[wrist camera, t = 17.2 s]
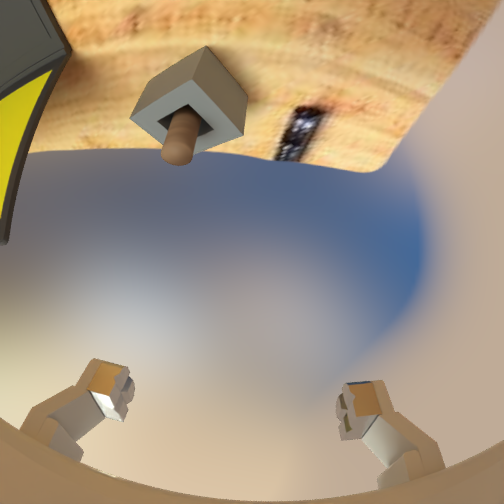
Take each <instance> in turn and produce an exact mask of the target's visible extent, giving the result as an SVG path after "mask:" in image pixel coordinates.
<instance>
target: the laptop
mask: <svg viewBox="0 0 504 504" xmlns="http://www.w3.org/2000/svg"><path fill="white" fill-rule="evenodd" d="M71 50H72V49H71V47H70V45H69V43H68V42H67V40H66V38H65V36H64V34H63V32H62V30H61V28H60V27H59V25H58V23H57V21H56V19H55V17H54V15H53V13H52V11H51V9H50V7H49V5H48V3H47V1H46V0H0V245H6V244H7V243H8V241H9V235H10V228H11V222H12V216H13V210H14V205H15V200H16V196H17V191H18V187H19V183H20V179H21V175H22V171H23V168H24V164H25V161H26V158H27V154H28V151H29V148H30V145H31V142H32V139H33V136H34V134H35V131H36V128H37V126H38V123H39V120H40V118H41V115H42V113H43V111H44V108H45V106H46V104H47V101H48V99H49V97H50V95H51V93H52V90H53V88H54V86H55V84H56V82H57V80H58V78H59V76H60V74H61V72H62V71H63V69H64V67H65V65H66V63H67V61H68V60H69V58H70V57H71V53H70V51H71Z"/></svg>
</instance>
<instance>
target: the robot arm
mask: <svg viewBox="0 0 504 504" xmlns="http://www.w3.org/2000/svg"><path fill="white" fill-rule="evenodd" d="M129 373H130V371H129V369H128V367H126V366H122V365H118V364H114V363H110V362H106V361H103V360H99V359H95V358H94V359H92V360H91V361H90V362H89V364H88V365H87V367H86V369H85V371H84V372H83V374H82V376H81V377H80V379H79V381H78V382H77V384H76V386H70V387H69V388H67V389H65V390H63V391H62V392H60V393H58V394H56V395H54V396H52V397H51V398H49V399H47V400H45V401H43V402H42V403H40V404H38V405H36V406H34V407H32V409H31V410H30V412H29V414H28V416H27V417H26V419H25V421H24V422H23V424H22V426H21V428H20V430H18V429H17V428H15V427H13V426H12V425H10V424H9V423H7V422H6V421H5V420H3V419H2V418H0V504H504V440H503V441H501V442H499V443H497V444H496V445H494V446H492V447H491V448H489V449H486V450H485V451H483V452H481V453H479V454H477V455H475V456H473V457H471V458H468V459H466V460H464V461H462V462H460V463H458V464H455V465H453V466H450V467H448V468H446V467H445V464H444V461H443V459H442V455H441V452H440V450H439V447H438V444H437V442H435V440H433V439H432V438H431V437H429V436H428V435H427V434H425V433H424V432H423V431H422V430H420V429H419V428H418V427H417V426H415V425H414V424H413V423H412V422H410V421H409V420H408V419H407V418H405V417H404V416H403V415H402V414H400V413H399V412H395V411H394V408H393V405H392V402H391V400H390V397H389V394H388V391H387V389H386V386H385V383H384V381H383V380H377V381H363V382H352V383H345V384H344V385H343V387H342V392H343V393H342V394H340V395H339V397H338V399H337V402H336V414H337V418H338V419H339V420H340V421H341V423H340V425H339V431H340V437H341V440H353V439H362V441H363V442H364V443H365V444H366V445H367V447H368V448H369V449H370V450H371V451H372V452H373V453H374V454H375V455H376V456H377V458H378V459H379V460H380V461H381V462H382V463H383V464H384V465H385V466H386V467H387V469H386V470H385V471H384V472H383V473H382V474H381V475H379V477H378V478H377V482H378V487H379V489H378V490H374V491H369V492H365V493H359V494H353V495H347V496H341V497H334V498H325V499H315V500H303V501H279V502H278V501H277V502H276V501H273V502H271V501H270V502H269V501H268V502H266V501H265V502H264V501H240V500H227V499H217V498H209V497H201V496H195V495H189V494H183V493H178V492H173V491H168V490H163V489H160V488H155V487H151V486H147V485H144V484H140V483H136V482H133V481H129V480H127V479H123V478H120V477H117V476H114V475H112V474H109V473H106V472H103V471H100V470H98V469H95V468H93V467H90V466H88V465H85V464H83V463H80V461H81V458H82V456H83V453H84V452H83V449H82V448H81V447H80V446H79V445H78V444H77V443H76V441H77V440H78V439H80V438H81V437H82V436H84V435H85V434H86V433H87V432H89V431H90V430H91V429H92V428H94V427H95V426H96V425H97V424H99V423H100V422H101V421H102V420H104V419H105V417H106V418H110V419H114V420H117V421H121V422H124V419H125V417H126V414H127V412H128V407H127V404H128V403H129V402H131V401H132V399H133V396H134V391H135V386H134V382H133V380H132V379H131V378H130V377H129Z"/></svg>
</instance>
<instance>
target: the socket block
mask: <svg viewBox="0 0 504 504" xmlns="http://www.w3.org/2000/svg"><path fill="white" fill-rule="evenodd" d="M247 101H248V96H247V95H246V93H245V92H244V91H243V89H242V88H241V87H240V86H239V84H238V83H237V82H236V81H235V79H234V78H233V77H232V76H231V75H230V73H229V72H228V71H227V70H226V68H225V67H224V66H223V65H222V64H221V62H220V61H219V60H218V59H217V58H216V57H215V55H214V54H213V53H212V52H211V51H210V50H209V49H208V47H207V46H205V47H203V48H201V49H199V50H197V51H196V52H194V53H192V54H190V55H189V56H187V57H185V58H184V59H182V60H180V61H179V62H177V63H176V64H174V65H172V66H171V67H169V68H168V69H166V70H165V71H163V72H162V73H160V74H159V75H157V76H156V77H154V78H153V79H151V80H150V81H149V82H148V84H147V85H146V87H145V89H144V91H143V93H142V95H141V96H140V98H139V100H138V102H137V104H136V106H135V108H134V110H133V112H132V114H131V116H130V118H129V119H131V120H132V121H133V122H135V123H136V124H137V125H138V126H140V127H141V128H142V129H143V130H145V131H146V132H147V133H149V134H150V135H151V136H152V137H154V138H155V139H156V140H157V141H159V142H160V143H161V144H162V145H163V144H164V141H165V138H166V135H167V132H168V129H169V126H170V123H171V121H172V118H173V115H174V112H175V111H176V110H177V109H179V108H181V107H183V106H185V105H187V104H189V105H190V106H191V107H192V108H193V109H194V110H195V111H196V112H197V113H198V114H199V115H200V116H201V117H202V120H201V124H200V128H199V132H198V136H197V140H196V144H195V148H194V153H193V155H194V154H197V153H199V152H202V151H204V150H207V149H209V148H212V147H214V146H217V145H219V144H222V143H225V142H227V141H230V140H233V139H235V138H238V137H241V136H243V135H244V126H245V118H246V109H247Z"/></svg>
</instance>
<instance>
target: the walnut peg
mask: <svg viewBox="0 0 504 504" xmlns="http://www.w3.org/2000/svg"><path fill="white" fill-rule="evenodd" d="M201 120H202V117H201V116H200V115H199V114H198V113H197V112H196V111H195V110H194V109H193V108H192V107H191V106H190V105H189V104H187V105H185V106H183V107H181V108H179V109H177V110H176V111H175V112H174V115H173V118H172V121H171V123H170V126H169V129H168V132H167V135H166V138H165V141H164V144H163V147H162V150H161V157H162V158H163V160H165V161H166V162H167V163H169V164H172V165H177V166H181V165H186V164H188V163H190V162H191V160H192V157H193V153H194V148H195V144H196V140H197V136H198V132H199V128H200V124H201Z"/></svg>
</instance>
